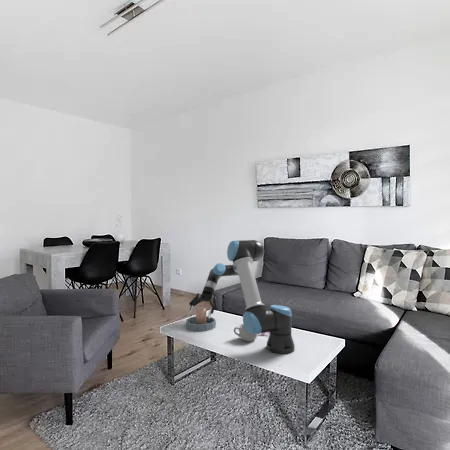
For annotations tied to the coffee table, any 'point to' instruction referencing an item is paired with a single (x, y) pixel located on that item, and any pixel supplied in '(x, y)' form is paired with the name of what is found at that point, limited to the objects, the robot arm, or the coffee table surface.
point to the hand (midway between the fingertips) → (199, 316)
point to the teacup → (245, 333)
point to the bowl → (202, 327)
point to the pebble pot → (201, 315)
